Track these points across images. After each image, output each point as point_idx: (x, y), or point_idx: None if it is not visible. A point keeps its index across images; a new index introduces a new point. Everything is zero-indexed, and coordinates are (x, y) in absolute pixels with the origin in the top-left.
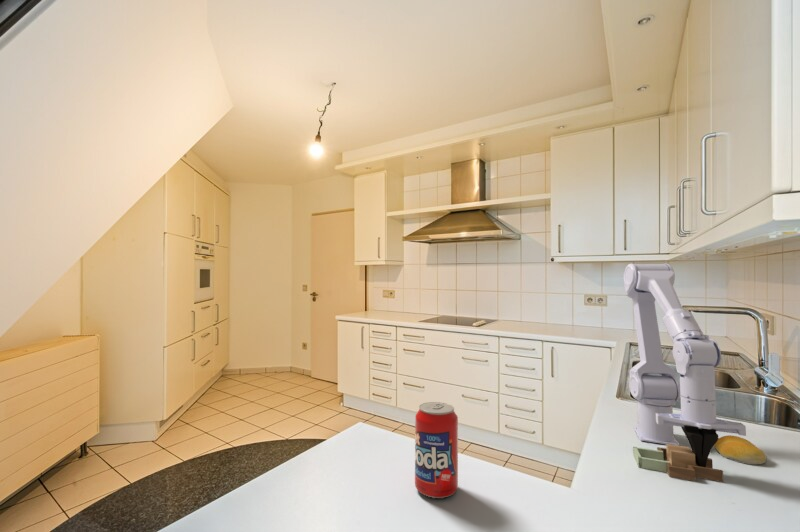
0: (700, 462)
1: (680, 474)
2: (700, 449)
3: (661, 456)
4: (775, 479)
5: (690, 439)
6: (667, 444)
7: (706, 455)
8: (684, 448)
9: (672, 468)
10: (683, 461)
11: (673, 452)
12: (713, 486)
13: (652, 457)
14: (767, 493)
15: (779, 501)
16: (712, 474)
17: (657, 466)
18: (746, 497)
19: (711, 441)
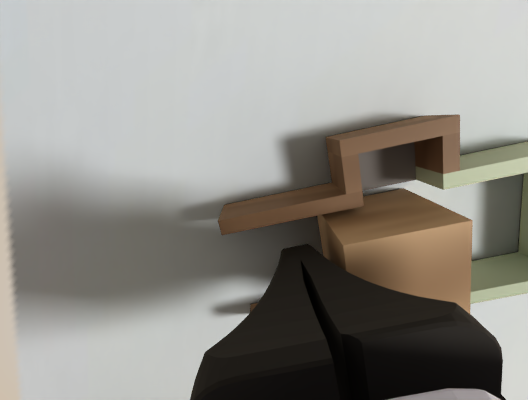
0: (305, 250)
1: (390, 125)
2: (320, 282)
3: None
4: (65, 344)
5: (419, 300)
6: None
7: (283, 273)
8: None
9: (437, 119)
10: (381, 215)
11: (455, 219)
12: (262, 130)
13: None
14: (84, 195)
15: (45, 141)
16: (259, 204)
17: (477, 158)
18: (151, 95)
19: (257, 331)
